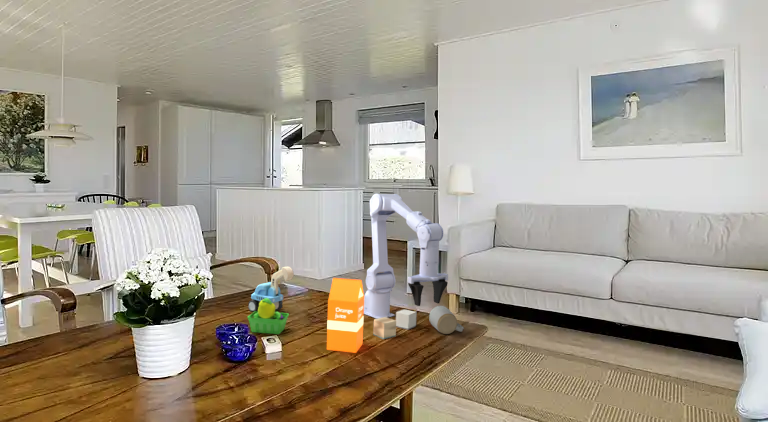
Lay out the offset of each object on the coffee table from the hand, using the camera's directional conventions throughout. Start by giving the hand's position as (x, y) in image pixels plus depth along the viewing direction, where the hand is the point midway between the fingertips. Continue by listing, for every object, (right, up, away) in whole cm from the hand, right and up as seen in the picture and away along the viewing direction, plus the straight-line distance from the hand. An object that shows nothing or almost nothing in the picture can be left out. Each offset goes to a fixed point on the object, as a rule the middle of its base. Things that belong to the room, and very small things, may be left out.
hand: (427, 304), depth 149 cm
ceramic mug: (+7, -10, +6) cm, 14 cm away
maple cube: (-14, -10, -1) cm, 17 cm away
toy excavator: (-54, -7, +20) cm, 58 cm away
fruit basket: (-50, -9, -1) cm, 51 cm away
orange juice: (-25, -10, -13) cm, 30 cm away
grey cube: (-6, -9, +9) cm, 14 cm away
